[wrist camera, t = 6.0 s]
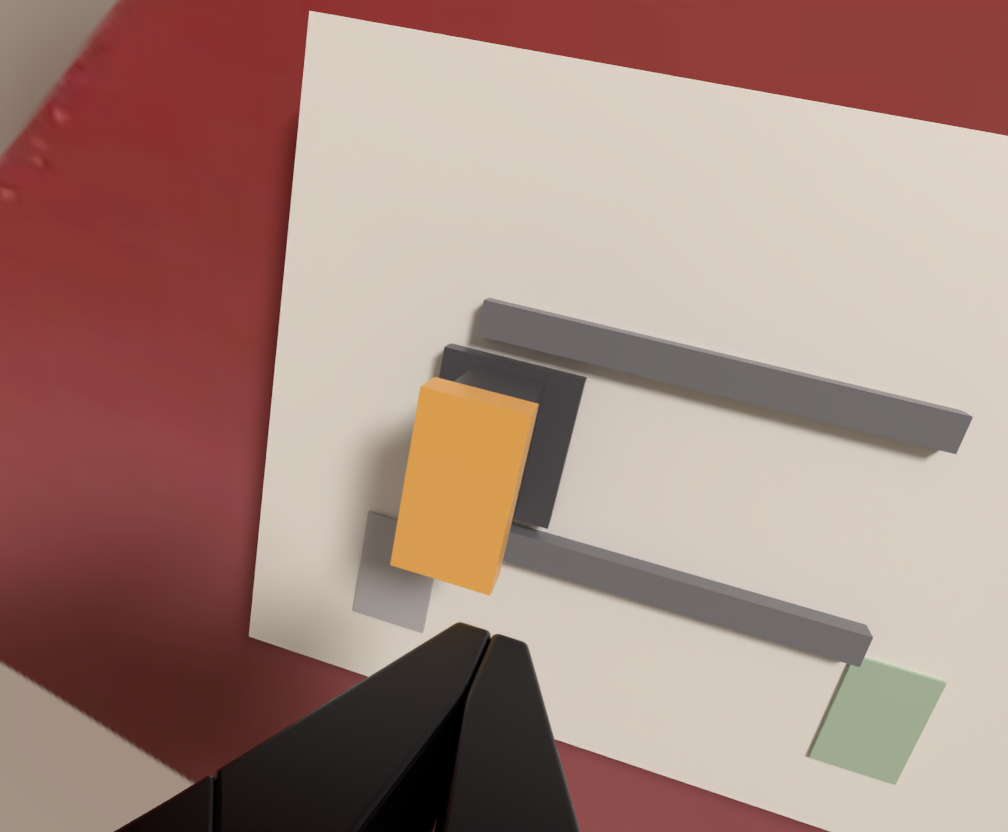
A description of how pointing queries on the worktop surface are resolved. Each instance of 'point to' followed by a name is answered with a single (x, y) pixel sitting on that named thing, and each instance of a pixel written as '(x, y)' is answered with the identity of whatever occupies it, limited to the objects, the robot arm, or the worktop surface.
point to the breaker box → (666, 413)
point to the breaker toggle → (482, 463)
